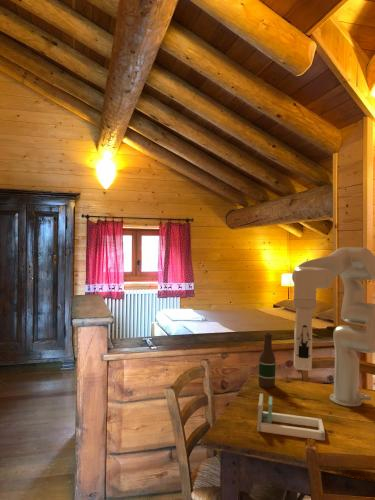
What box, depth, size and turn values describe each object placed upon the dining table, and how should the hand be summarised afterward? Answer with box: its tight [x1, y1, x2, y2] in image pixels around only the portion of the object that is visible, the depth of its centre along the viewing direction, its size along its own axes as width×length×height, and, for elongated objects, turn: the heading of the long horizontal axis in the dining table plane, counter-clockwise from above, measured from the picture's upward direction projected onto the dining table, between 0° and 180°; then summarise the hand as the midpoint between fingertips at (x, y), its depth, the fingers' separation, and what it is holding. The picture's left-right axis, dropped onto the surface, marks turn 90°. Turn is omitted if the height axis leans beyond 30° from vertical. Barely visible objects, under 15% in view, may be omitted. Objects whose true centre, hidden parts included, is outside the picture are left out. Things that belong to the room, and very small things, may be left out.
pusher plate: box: [262, 396, 273, 424], centre depth 136 cm, size 3×7×9 cm, turn 166°
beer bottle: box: [257, 332, 277, 389], centre depth 176 cm, size 8×8×24 cm
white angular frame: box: [256, 393, 326, 442], centre depth 134 cm, size 22×11×9 cm, turn 76°
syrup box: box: [293, 327, 313, 371], centre depth 133 cm, size 6×6×14 cm
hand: (302, 354), depth 133 cm, fingers closed on syrup box, 5 cm apart
